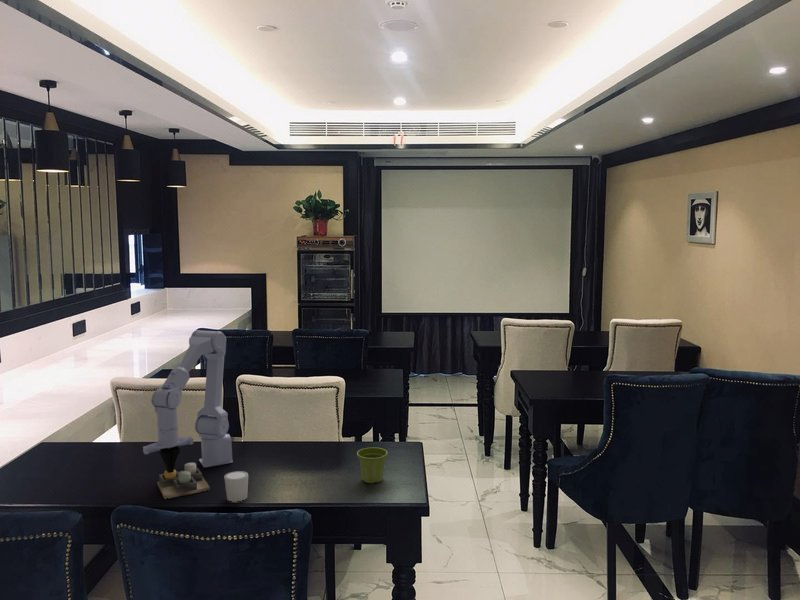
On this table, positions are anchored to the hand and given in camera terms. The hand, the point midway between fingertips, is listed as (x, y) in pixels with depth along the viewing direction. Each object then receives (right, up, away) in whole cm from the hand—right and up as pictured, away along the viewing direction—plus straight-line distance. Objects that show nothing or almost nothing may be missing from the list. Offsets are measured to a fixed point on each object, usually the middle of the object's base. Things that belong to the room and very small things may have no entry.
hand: (170, 471), depth 209 cm
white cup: (+22, -6, -9) cm, 25 cm away
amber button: (0, -3, 0) cm, 3 cm away
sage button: (+6, -2, -4) cm, 7 cm away
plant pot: (+61, -4, +3) cm, 61 cm away
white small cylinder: (+5, -2, +3) cm, 6 cm away
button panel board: (+4, -5, -1) cm, 6 cm away
